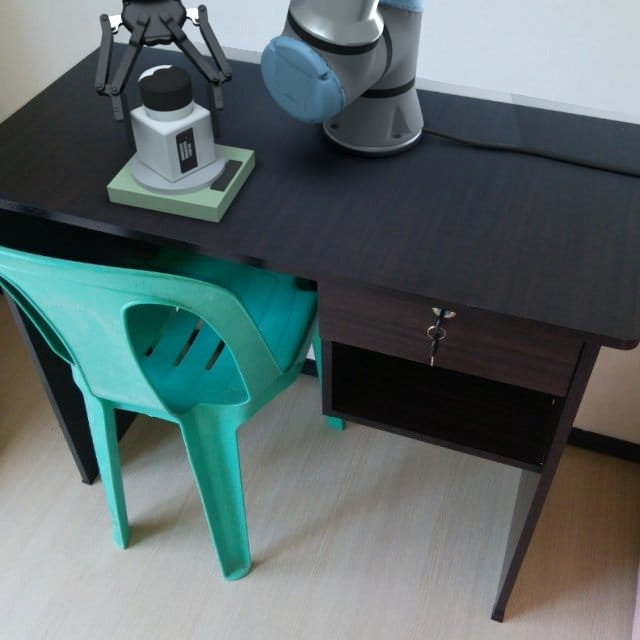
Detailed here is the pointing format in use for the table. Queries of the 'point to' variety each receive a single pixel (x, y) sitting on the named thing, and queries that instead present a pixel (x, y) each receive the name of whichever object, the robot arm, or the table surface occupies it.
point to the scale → (185, 185)
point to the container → (171, 124)
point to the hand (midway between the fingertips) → (174, 141)
